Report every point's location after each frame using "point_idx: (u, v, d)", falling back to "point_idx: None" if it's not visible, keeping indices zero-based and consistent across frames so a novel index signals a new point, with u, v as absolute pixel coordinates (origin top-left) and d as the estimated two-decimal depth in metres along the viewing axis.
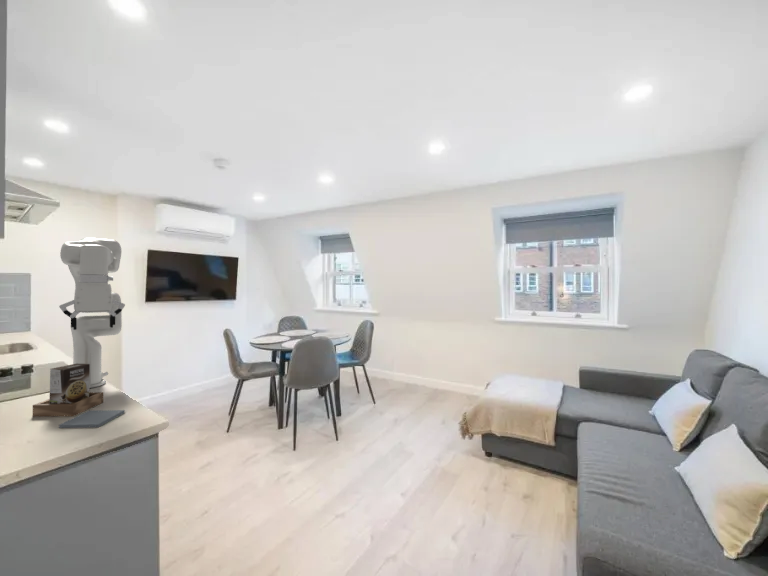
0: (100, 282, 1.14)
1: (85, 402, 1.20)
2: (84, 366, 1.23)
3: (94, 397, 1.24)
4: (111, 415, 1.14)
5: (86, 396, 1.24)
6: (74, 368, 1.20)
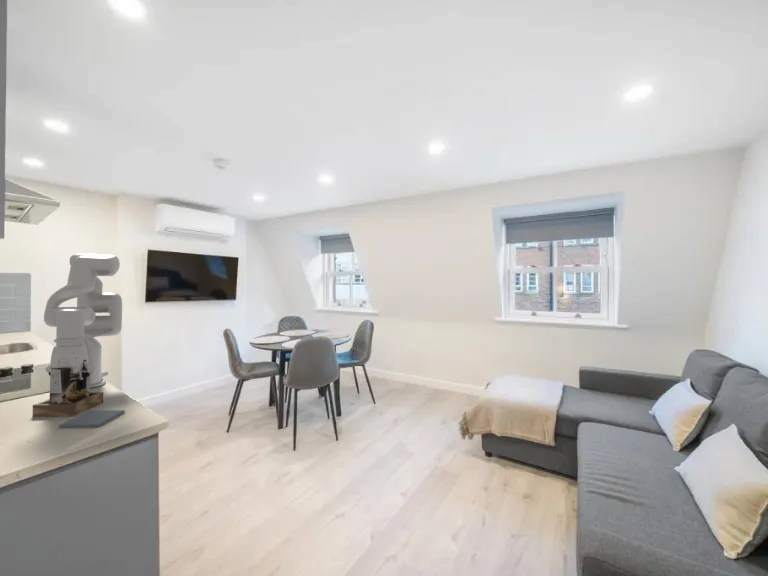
0: None
1: (85, 402, 1.20)
2: None
3: (94, 397, 1.24)
4: (111, 415, 1.14)
5: (86, 396, 1.24)
6: None
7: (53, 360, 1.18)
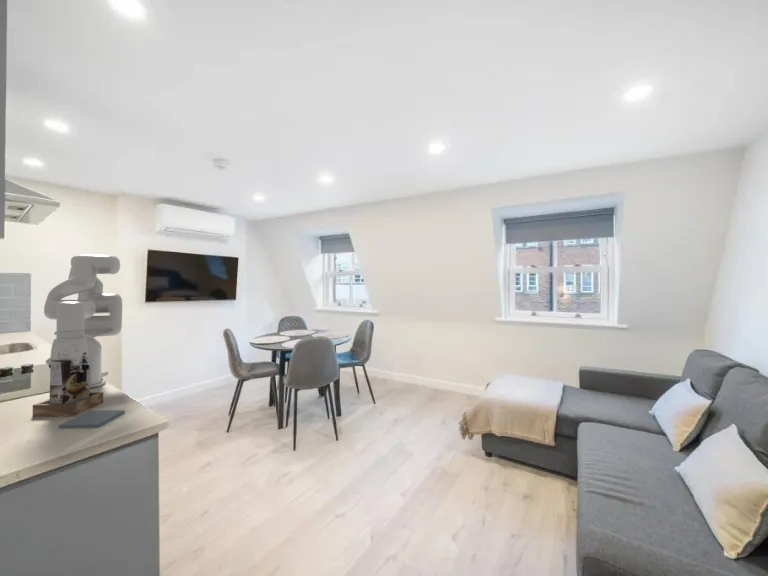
0: None
1: (85, 402, 1.20)
2: (84, 359, 1.23)
3: (94, 397, 1.24)
4: (111, 415, 1.14)
5: (86, 389, 1.24)
6: None
7: (53, 352, 1.18)
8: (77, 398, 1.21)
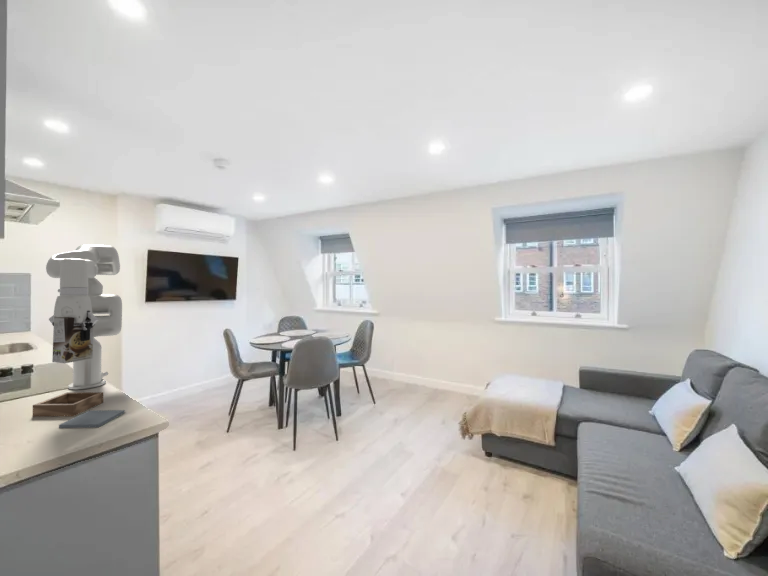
0: None
1: (85, 402, 1.20)
2: None
3: (94, 397, 1.24)
4: (111, 415, 1.14)
5: (90, 348, 1.22)
6: None
7: (57, 309, 1.16)
8: (80, 356, 1.19)
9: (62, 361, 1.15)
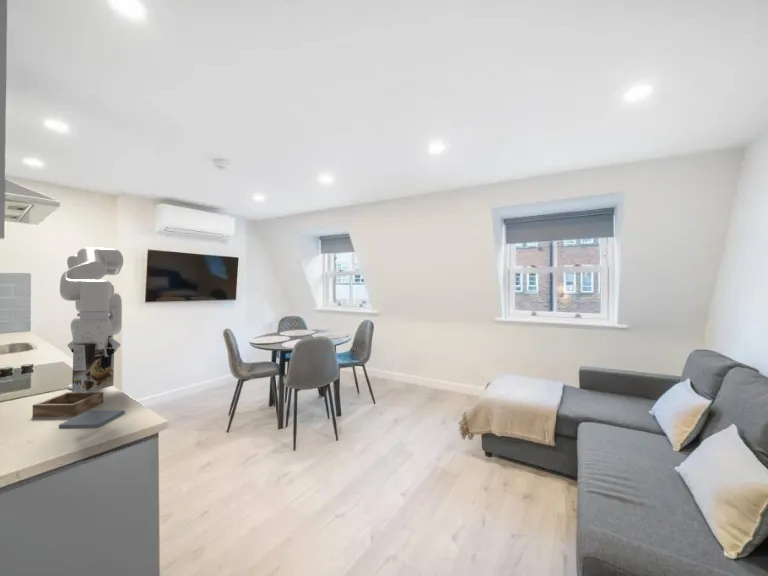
0: None
1: (85, 402, 1.20)
2: None
3: (94, 397, 1.24)
4: (111, 415, 1.14)
5: (111, 375, 1.15)
6: None
7: (76, 335, 1.09)
8: (101, 384, 1.12)
9: (83, 391, 1.07)
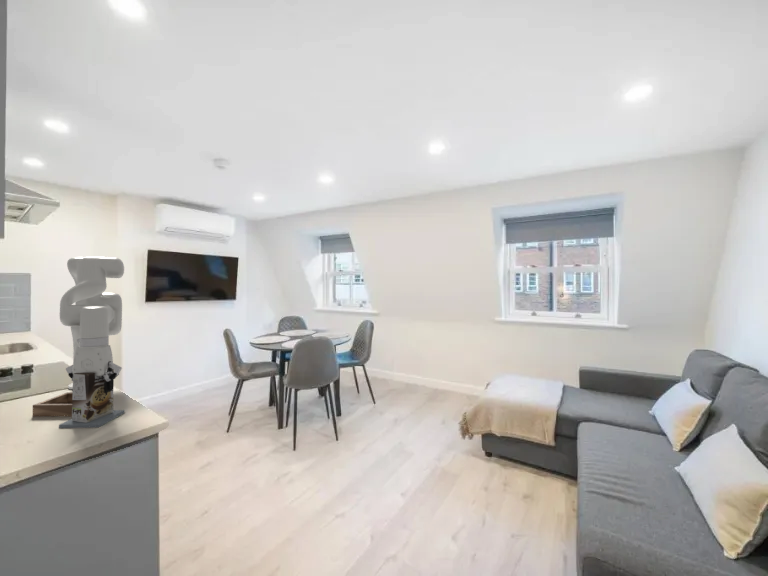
0: None
1: None
2: None
3: None
4: (111, 415, 1.14)
5: (110, 402, 1.15)
6: None
7: (76, 362, 1.09)
8: (101, 413, 1.12)
9: (83, 420, 1.08)
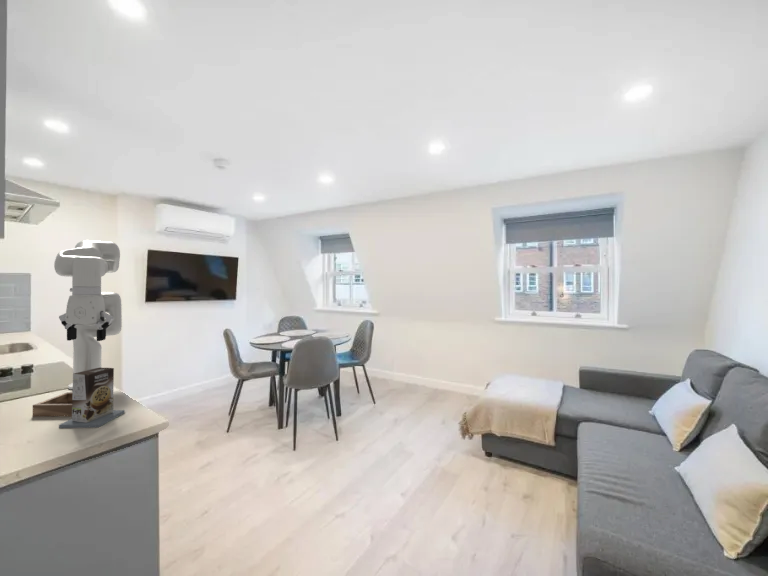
0: None
1: None
2: (108, 370, 1.14)
3: None
4: (111, 415, 1.14)
5: (110, 402, 1.15)
6: (99, 373, 1.11)
7: (69, 309, 1.12)
8: (101, 413, 1.12)
9: (83, 420, 1.08)
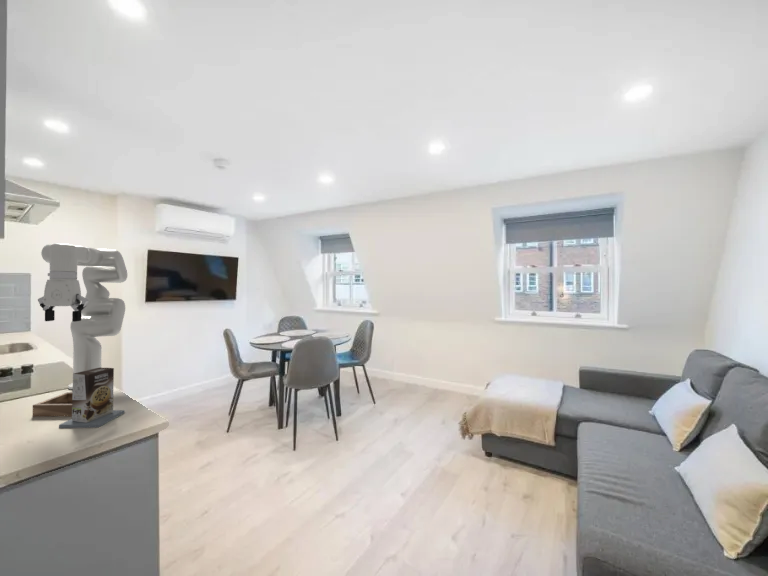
0: None
1: None
2: (108, 370, 1.14)
3: None
4: (111, 415, 1.14)
5: (110, 402, 1.15)
6: (99, 373, 1.11)
7: (46, 292, 1.21)
8: (101, 413, 1.12)
9: (83, 420, 1.08)
